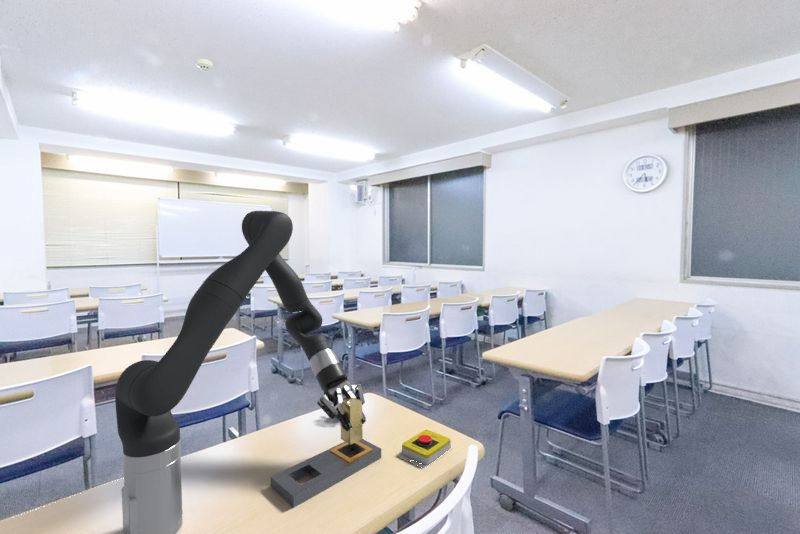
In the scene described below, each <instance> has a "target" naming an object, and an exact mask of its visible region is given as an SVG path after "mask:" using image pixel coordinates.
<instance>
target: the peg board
mask: <svg viewBox="0 0 800 534" xmlns="http://www.w3.org/2000/svg"><path fill="white" fill-rule="evenodd" d="M352 453H353V454H355V455H353V456H352V457H349V456H348V455H350V454H352ZM381 459H382V448H381V447H379V446H378V445H375V444H374V443H371V442H369V441H367V440H366V439H365V438H364V439H361V440H359V441H357V442H355V443H353V444H351V445H350V444H349V443H347V442H345V441H343V442H340V443H338V444H337V445H335V446H333V447H330V448H328V449H326V450H324V451H322V452H319V453H318V454H316V455H314V456H312V457H309V458H308V459H305V460H303V461H301V462H299V463H296V464H295V465H293V466H290V467H288V468H287V469H283V470H282V471H280V472H278V473H276V474H273V475H271V476H270V488H271V489H272V490H273V491H274V492H275V493H276V494H278V496H280V497H281V498H282V499H283V500H284V501H285V502H287V503H288V504H289V505H290V506H291V507H292V508H297V506H299V505H301V504H302V503H304V502H306V501H308V500H309V499H312V498H313V497H316V496H317V495H319V494H320V493H322V492H324V491H326V490H327V489H330V488H331V487H333V486H335V485H336V484H339V483H340V482H341V481H343V480H345V479H347V478H348V477H350V476H352V475H354V474H356V473H358V472H359V471H361V470H362V469H364V468H366V467H368V466H369V465H371V464H373V463H375V462H377V461H379V460H381ZM308 475H309V476H310V477H311V478H312V479H311V478H310V479H309V480H308V481H305V482H304V483H302V484H301V483H299V482H298V481H299V480H301V479H303V478H304V477H306V476H308Z"/></svg>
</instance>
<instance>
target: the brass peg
mask: <svg viewBox="0 0 800 534" xmlns="http://www.w3.org/2000/svg"><path fill="white" fill-rule="evenodd" d="M342 407H343V409H344V412H345V413H344V414H346V415H347V417H348V419H349V421H350V423H351V425H352V428H351V429H350V430H349V431H346V430H344V429H343V427H342V425H341V424H340V440H341V441H343V442H347V443H349V444H350V445H351V444H353V443H355V442H357V441H359V440H361V439H363V436H364V435H363V424H362V411H363V405H362V401H360V400H358V399H356V398H349V399H346V400H343V402H342Z"/></svg>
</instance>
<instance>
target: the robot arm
mask: <svg viewBox="0 0 800 534" xmlns="http://www.w3.org/2000/svg"><path fill="white" fill-rule="evenodd" d="M293 227H294V225H293V221H292V219H291V217H290V216H289V215H288V214H287V213H284V212H282V211H276V210H253V211H250V212H248V213H247V214H246V215H244V217H243V219H242V222H241V232H242V235H243V237H244V239H245V241H246V243H247V244H248V246H247V247H246V248H245V250H243V251H242V252H241V253H239V254H238V255H236V256H235V257H233V258H231V259H230V260H228V261H227V262H225V263H223V264H222V265H221V266H219V267H217V269H215V270H214V271H213V272H211V273H210V274H209V275H208V276H207V277H206V278H205V280H204V281H203V282H202V284H201V285H200V286H199V287H198V288H197V290H196V291H195V293H194V294H193V296H192V297H191V298H190V300H189V303H188V306H187V308H186V311H185V316H184V319H183V323H182V326H181V329H180V332H179V334H178V335H177V337H176V340H174V342H173V343H172V345H171V346H170V347H169V348H168V350H167V351H166V353H165V354H164V355H163V356H162V357H161V359H160V360H159V361H157V360H151V359H143V360H139V361H137V362H134V363H131V365H129V366H128V367H126V368H125V369H124V370H123V372H122V373H121V374H120V375H119V377H118V379H117V382H116V386H115V394H114V396H115V398H114V400H115V415H116V425H117V427H116V429H117V434H118V436H119V438H120V441H121V444H122V454H123V455H122V457H123V483H124V484H123V487H122V488H121V505H122V506H121V508H122V534H176V533H177V532H178V531H179V530H180V529H181V527H182V524H183V514H184V513H183V496H182V495H183V493H182V457H181V456H182V455H181V454H182V452H181V429H180V428H181V427H180V424H179V423H178V421H177V420H176V418H175V417H174V415H173V413H172V411H171V410H173V409H174V408H175V407H177V405H179V403H180V402H181V400H182V399H183V398H185V395H186V393H187V392H188V390H189V388H190V387H191V385H192V383H193V381H194V379H195V377H196V375H198V374H197V373H198V372H199V370H200V369H201V366H202V364H203V363H204V362H205V359H206V357H207V356H208V354H209V352H210V351H211V349H212V348H213V346H214V345H215V343H216V342H217V340H218V339H219V338H220V336H221V334H222V333H223V331H224V330H225V329H226V327H227V326H228V324H229V323H230V322H231V320H232V319H233V317H234V316H235V315H236V313H237V312H238V310H239V308H241V306H242V304H243V303H244V301H245V299H246V298H247V296H248V295H249V293H250V292H251V290H252V289H253V288H254V286H255V285H256V284H257V282H258V281H259V280H260V278H261V276H262V275H263V274H264V272H265V271H266V273H267V274H268V277H269V278H270V280H271V281H272V284H273V286H274V288H275V289H276V291H277V294H278V296H279V298H280V301H281V304H282V306H283V308H284V310H286V312H288V313H294V314H291V315H290V316H288V317H287V318H286V320H285V324H284V325H285V326H284V327H285V329H286V331H287V333H288V334H289V335H290V336H291V337H292V338H293V340H294V341H296V342H297V343H298V344H299V346H300V347H301V349H302V350H303V352H304V354H305V355H306V358H307V359H308V362H309V364H310V368H311V370H312V372H313V374H314V376H315V378H316V381H317V383H318V385H319V387H320V389H321V391H323V395H321V396H320V398H318V400H317V402H316V403H317V405H318V406H319V407H320V409H321V410H323V412H324V413H325V414H326V415H327V416H328V418H329V419H331V420H334V419H338V421H339V422H340V426H341V425H342V427H343V429H344V430H346V431H349V430H350V429H351V428H352V425H351V423H350V421H349V419H348V417H347V415H346V414H344V413H345V412H344V409H343V407H342V402H343V400H346V399H349V398H356V399H358V400H360V401H362V406H363V405H364V404H366V403H365V402H366V401H365V397H364V392H363V387H362V384H361V383H357V384H352V383H351V382H350V381H349V380H348V375H347V373H346V371H345V370H344V368H343V366H342V364H341V361H340V360H339V358H338V357H337V355H336V353H335V352H334V350H333V349H332V347H331V345H330V344H329V342H328V339H327V338H326V336H325V335H324V334H321V333H319V334H313V335H308V334H311V333H313V332H315V331H317V330H319V328H321V327H322V325H323V317H322V316H323V315H322V314H321V313H320V312H319V311H318V309H317V308H316V307H315V306H314V305H313V303H312V302H311V301H310V299H309V297H308V295H307V292H306V290H305V287H304V285H303V283H302V280H301V278H300V277H299V276H298V274H297V273H296V272H295V271H294V269H293V268H292V267H291V265H289V264H288V263H287V262H286V260H285V259H284V258H283V256H282V255H281V254H280V253H281V252H282V251H283V249H284V248H285V247H286V246H287V244H288V243H289V241H290V239H291V237H292V234H293V229H294V228H293ZM331 403H332V404H331ZM366 421H367V420H366V415H365V413H364V412H363V410H362V425H364V424H365V423H366Z"/></svg>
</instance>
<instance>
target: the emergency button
mask: <svg viewBox="0 0 800 534" xmlns="http://www.w3.org/2000/svg"><path fill="white" fill-rule="evenodd" d="M451 443H452V442H451V438H450V437H448V436H445V435H443V434H439V433H437V432H434V431H433V430H432V431H431V430H429V429H424V430H422V431H420V432H419V433H417V434H415V435H413V436H412V437H410V438H408V439H407V440H405V441H403V442H402V443H401V444H402V445H401V452H399V453H398V456H397V457H398V458H400V457H401V459H402V458H403V460H404V459H405V460H404V461H406V460H407V461H406V462H408V461H409V463H410V460H414V461H411V464H413V463H414V464H413V465H415V466H417V465H418V466H417V467H419V466H420V467H419V468H421V467H422V468H421V469H426V468H427V466H428V465H429V464H430V465H431V463H432V462H433V463H434V461H435V460H436V459H437V458H439V457H440V456H441V455H443V454H444V453H445V452H446V451H448V450H449V449H450V448H451ZM444 455H445V454H444ZM444 455H443V456H444ZM440 458H441V457H440ZM440 458H439V459H440ZM437 460H438V459H437ZM437 460H436V461H437ZM416 461H417V462H416ZM436 461H435V462H436ZM419 463H422V464H419ZM433 463H432V464H433ZM430 465H429V466H430ZM429 466H428V467H429ZM425 467H426V468H425Z"/></svg>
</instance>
